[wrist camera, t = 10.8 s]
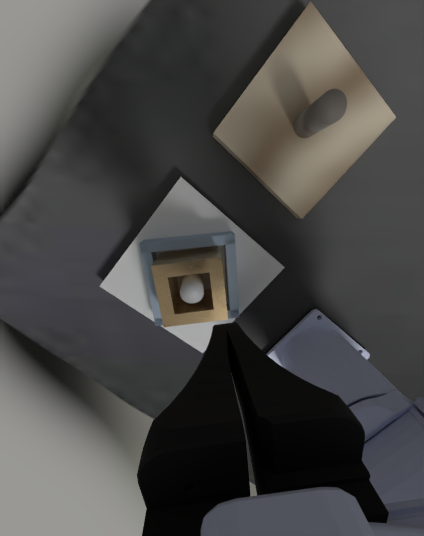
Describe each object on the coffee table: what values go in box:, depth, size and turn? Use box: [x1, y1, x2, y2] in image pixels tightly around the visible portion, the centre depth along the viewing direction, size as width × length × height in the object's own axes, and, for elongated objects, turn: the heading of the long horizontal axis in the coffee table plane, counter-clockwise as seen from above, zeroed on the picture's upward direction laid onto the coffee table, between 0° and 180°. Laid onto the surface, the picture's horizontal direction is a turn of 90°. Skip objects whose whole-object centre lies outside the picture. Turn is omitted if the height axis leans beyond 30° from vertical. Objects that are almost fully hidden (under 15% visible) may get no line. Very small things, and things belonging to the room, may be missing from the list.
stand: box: [213, 2, 396, 219], centre depth 15 cm, size 10×10×4 cm
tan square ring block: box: [151, 246, 228, 327], centre depth 18 cm, size 5×5×4 cm
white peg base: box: [100, 177, 285, 353], centre depth 19 cm, size 12×12×4 cm
